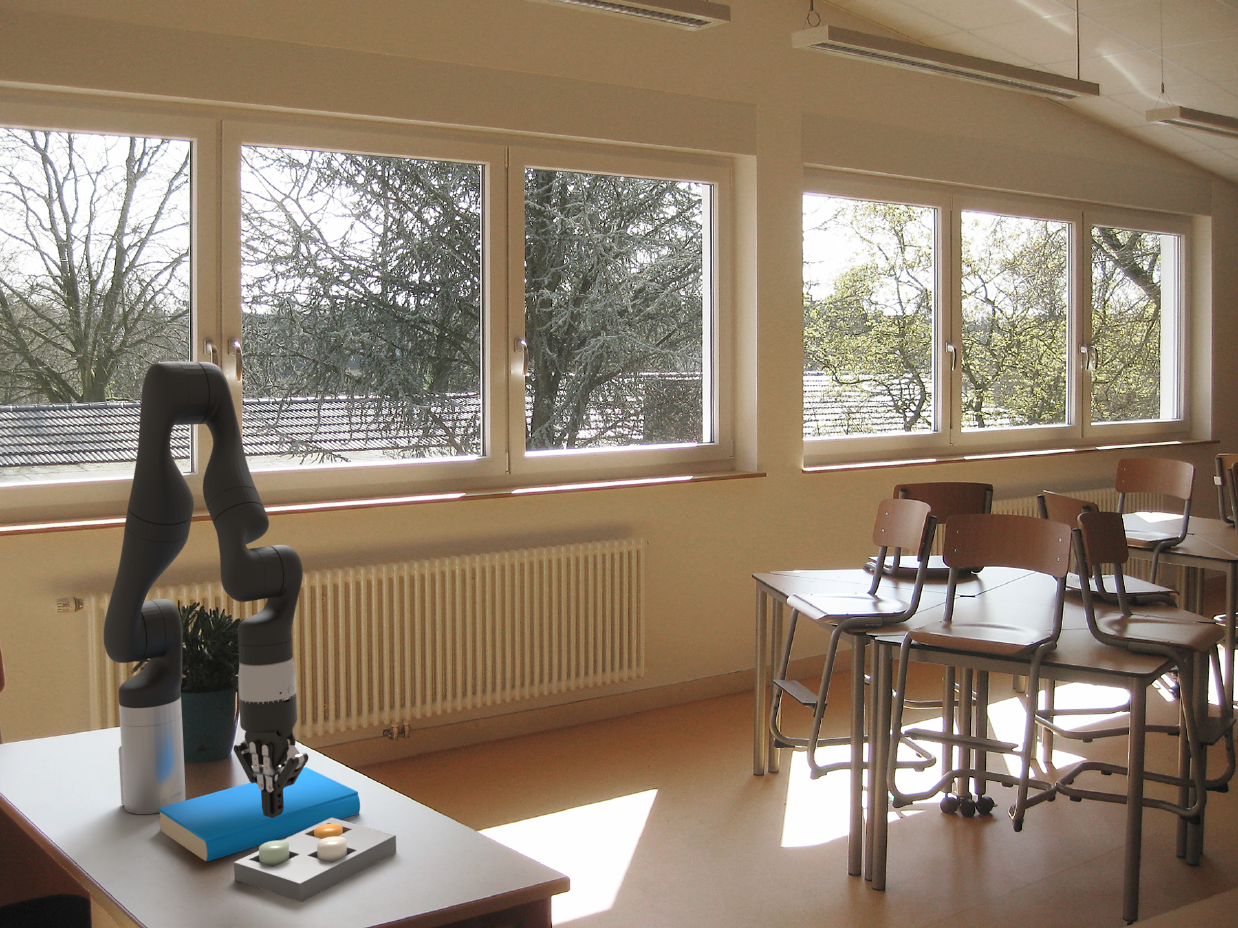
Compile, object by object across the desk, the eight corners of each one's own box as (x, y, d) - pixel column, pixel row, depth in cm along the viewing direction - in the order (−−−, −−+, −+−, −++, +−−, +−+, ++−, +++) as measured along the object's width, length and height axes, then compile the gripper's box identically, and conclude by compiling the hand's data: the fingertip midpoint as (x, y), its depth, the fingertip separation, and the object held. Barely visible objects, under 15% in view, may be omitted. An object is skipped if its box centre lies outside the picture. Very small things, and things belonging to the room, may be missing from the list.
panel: (234, 879, 156) (233, 862, 156) (332, 833, 171) (331, 817, 171) (300, 902, 149) (300, 883, 149) (396, 852, 164) (395, 835, 164)
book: (157, 808, 173) (305, 764, 191) (158, 835, 173) (306, 789, 191) (207, 839, 161) (360, 789, 178) (209, 869, 161) (361, 816, 179)
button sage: (253, 866, 157) (252, 848, 156) (276, 855, 160) (275, 838, 160) (273, 872, 154) (272, 854, 154) (295, 861, 158) (295, 844, 158)
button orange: (308, 847, 165) (308, 831, 165) (329, 838, 169) (328, 821, 168) (328, 853, 163) (327, 836, 163) (348, 843, 166) (348, 827, 166)
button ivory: (311, 862, 158) (310, 844, 157) (332, 851, 161) (332, 834, 161) (331, 868, 156) (331, 850, 155) (353, 857, 159) (352, 840, 159)
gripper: (213, 692, 156) (219, 815, 157) (279, 705, 149) (285, 834, 150) (256, 679, 162) (262, 798, 163) (322, 691, 155) (327, 815, 156)
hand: (273, 815), depth 157 cm, fingers closed
